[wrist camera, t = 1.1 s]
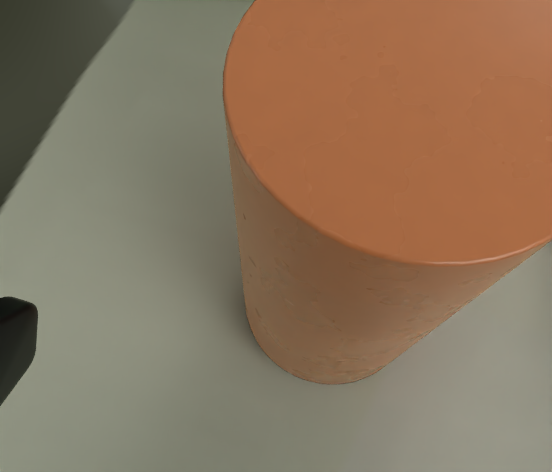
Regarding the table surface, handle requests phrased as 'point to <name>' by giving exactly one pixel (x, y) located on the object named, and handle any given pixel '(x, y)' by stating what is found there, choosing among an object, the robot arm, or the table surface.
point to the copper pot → (383, 168)
